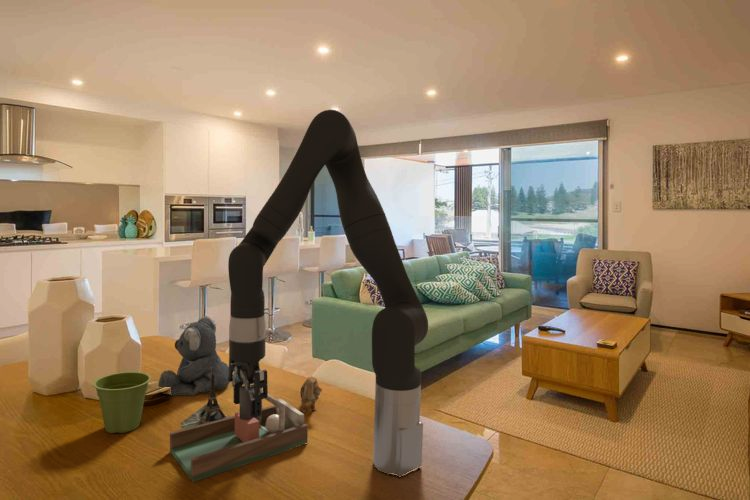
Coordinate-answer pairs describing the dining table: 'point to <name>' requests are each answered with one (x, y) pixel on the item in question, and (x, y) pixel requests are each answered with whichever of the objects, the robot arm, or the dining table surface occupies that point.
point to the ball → (273, 423)
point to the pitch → (235, 442)
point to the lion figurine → (309, 392)
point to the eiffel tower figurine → (206, 410)
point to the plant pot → (122, 399)
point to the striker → (245, 419)
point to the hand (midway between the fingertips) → (247, 409)
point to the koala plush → (197, 361)
